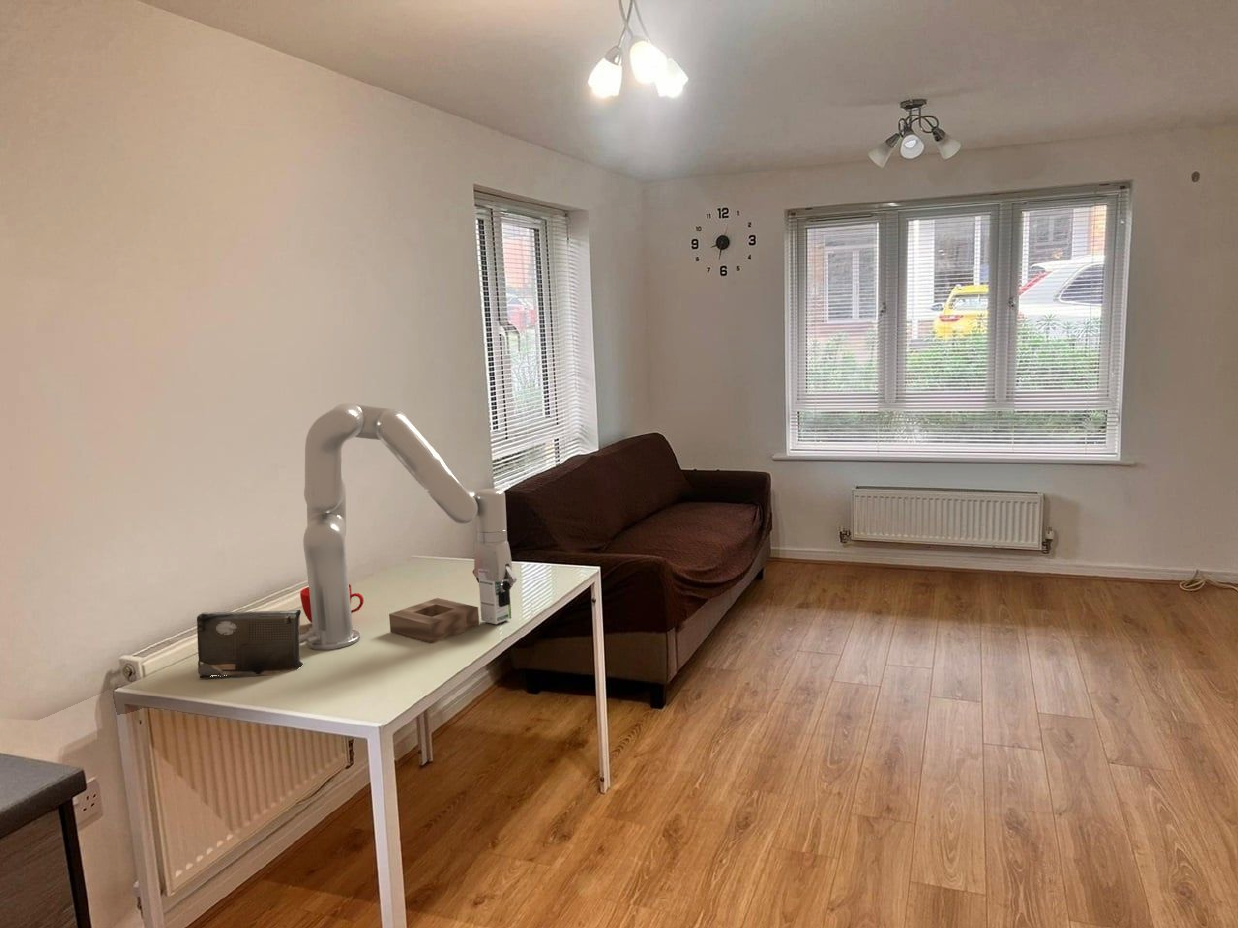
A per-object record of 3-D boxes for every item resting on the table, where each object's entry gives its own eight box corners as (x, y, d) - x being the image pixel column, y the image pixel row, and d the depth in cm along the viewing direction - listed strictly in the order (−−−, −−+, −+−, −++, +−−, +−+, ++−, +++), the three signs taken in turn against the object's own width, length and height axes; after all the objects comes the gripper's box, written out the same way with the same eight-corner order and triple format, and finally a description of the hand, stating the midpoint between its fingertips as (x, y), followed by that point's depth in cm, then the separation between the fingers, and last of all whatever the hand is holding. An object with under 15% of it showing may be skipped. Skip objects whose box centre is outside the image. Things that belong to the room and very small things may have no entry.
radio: (311, 661, 207) (305, 600, 204) (299, 675, 198) (293, 612, 196) (211, 667, 206) (204, 606, 204) (195, 681, 197) (188, 617, 195)
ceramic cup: (353, 634, 225) (349, 596, 223) (293, 632, 228) (290, 595, 227) (376, 618, 237) (373, 582, 236) (320, 616, 241) (316, 581, 239)
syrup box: (496, 624, 226) (493, 570, 224) (480, 620, 229) (477, 567, 227) (511, 618, 230) (509, 565, 228) (495, 615, 234) (493, 562, 232)
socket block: (431, 643, 215) (429, 624, 214) (390, 632, 225) (389, 613, 224) (479, 625, 227) (478, 607, 227) (438, 615, 237) (437, 597, 236)
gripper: (458, 535, 229) (462, 601, 231) (505, 543, 218) (508, 612, 221) (480, 529, 235) (483, 594, 237) (526, 537, 224) (529, 605, 227)
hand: (495, 602), depth 229 cm, fingers closed on syrup box, 5 cm apart
